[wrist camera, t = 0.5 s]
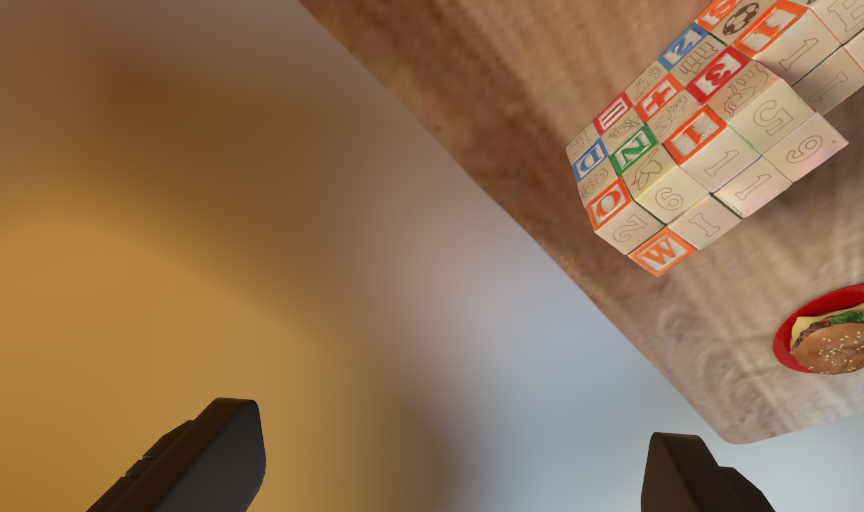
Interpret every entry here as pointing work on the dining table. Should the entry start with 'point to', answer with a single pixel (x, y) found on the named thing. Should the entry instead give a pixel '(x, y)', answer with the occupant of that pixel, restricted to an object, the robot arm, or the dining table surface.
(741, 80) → the stack of blocks
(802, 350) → the hamburger
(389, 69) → the dining table surface
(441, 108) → the dining table surface
